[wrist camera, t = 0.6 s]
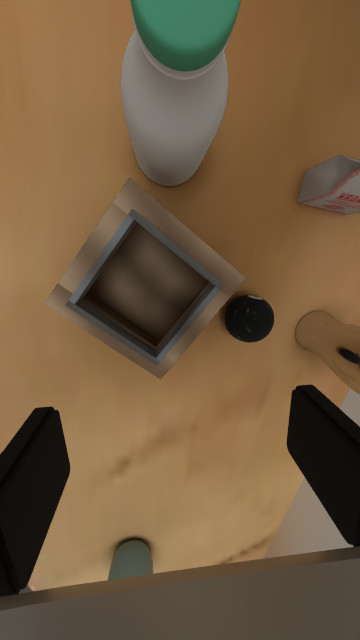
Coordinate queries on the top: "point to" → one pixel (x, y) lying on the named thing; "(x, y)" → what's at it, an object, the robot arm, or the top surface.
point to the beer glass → (332, 345)
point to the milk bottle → (176, 83)
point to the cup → (131, 560)
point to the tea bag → (333, 186)
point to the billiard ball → (249, 318)
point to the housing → (144, 282)
